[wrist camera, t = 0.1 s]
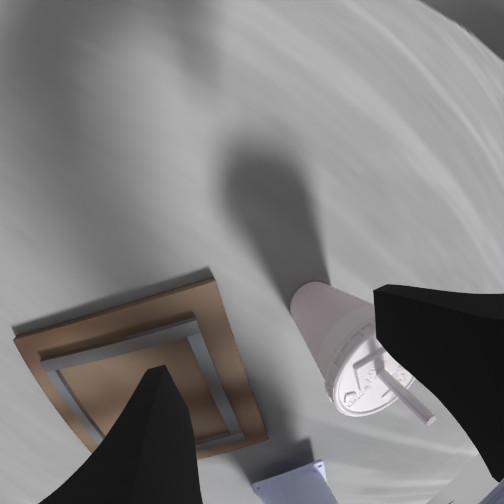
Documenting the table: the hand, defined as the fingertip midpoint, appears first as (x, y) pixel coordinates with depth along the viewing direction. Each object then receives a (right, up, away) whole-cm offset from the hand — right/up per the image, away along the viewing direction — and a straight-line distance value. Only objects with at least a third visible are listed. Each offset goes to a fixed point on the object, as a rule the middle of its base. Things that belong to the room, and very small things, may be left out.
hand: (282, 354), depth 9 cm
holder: (-10, -9, +12) cm, 18 cm away
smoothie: (+4, -1, +14) cm, 14 cm away
